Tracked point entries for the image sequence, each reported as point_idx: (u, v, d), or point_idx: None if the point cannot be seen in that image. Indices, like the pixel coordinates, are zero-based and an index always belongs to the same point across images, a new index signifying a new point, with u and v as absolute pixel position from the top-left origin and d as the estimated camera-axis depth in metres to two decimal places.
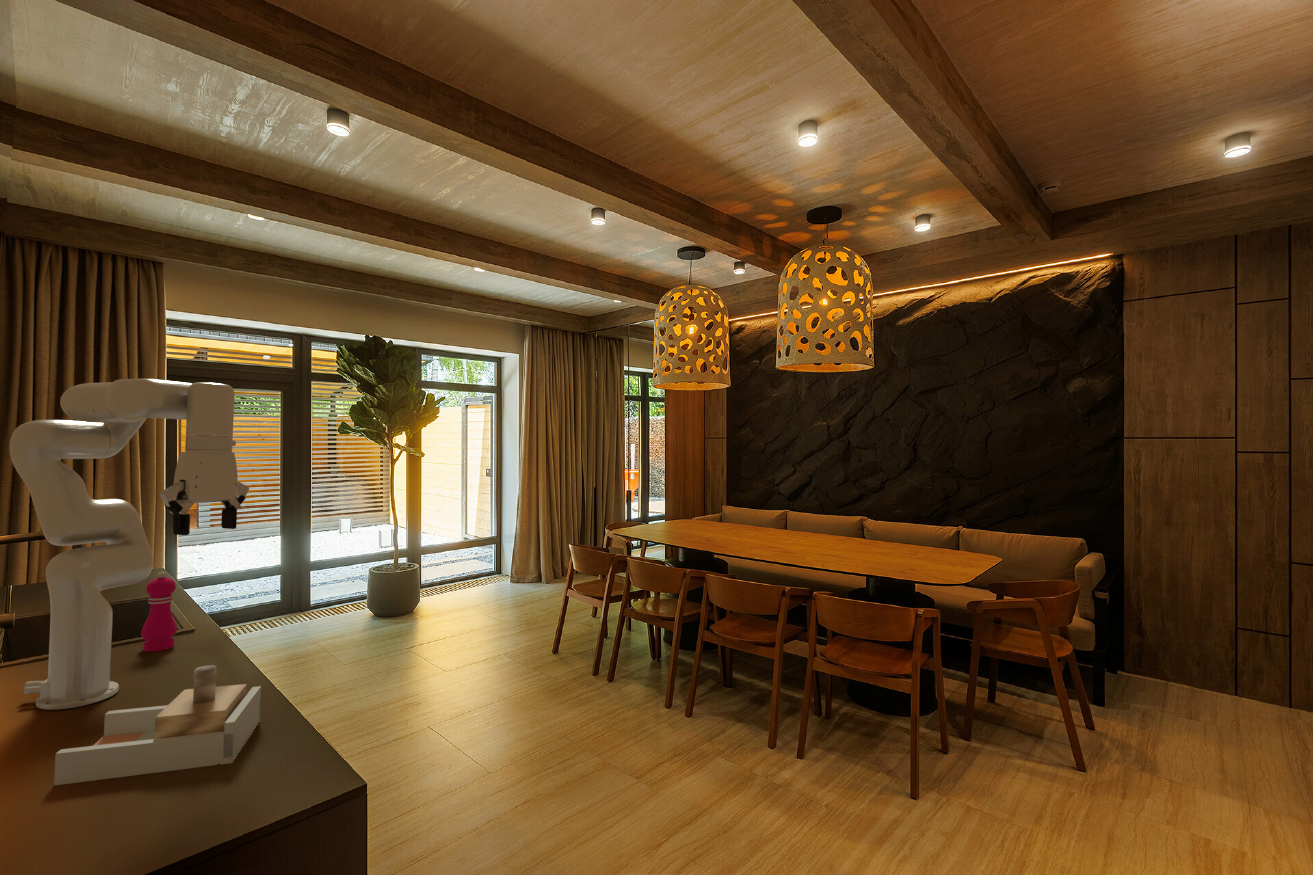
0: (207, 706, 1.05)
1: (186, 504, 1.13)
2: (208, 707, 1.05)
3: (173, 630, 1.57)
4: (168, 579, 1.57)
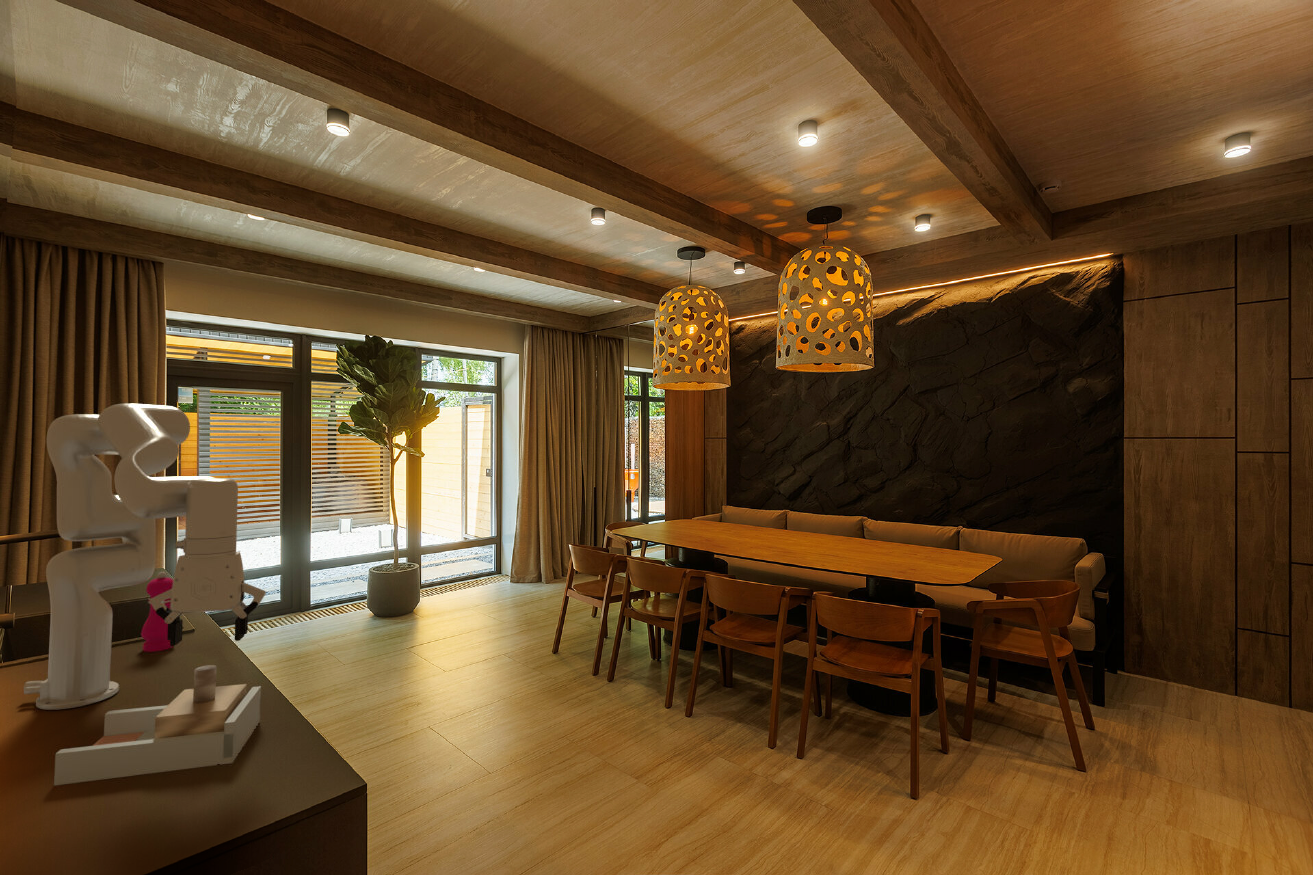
0: (207, 706, 1.05)
1: None
2: (208, 707, 1.05)
3: None
4: (168, 579, 1.57)
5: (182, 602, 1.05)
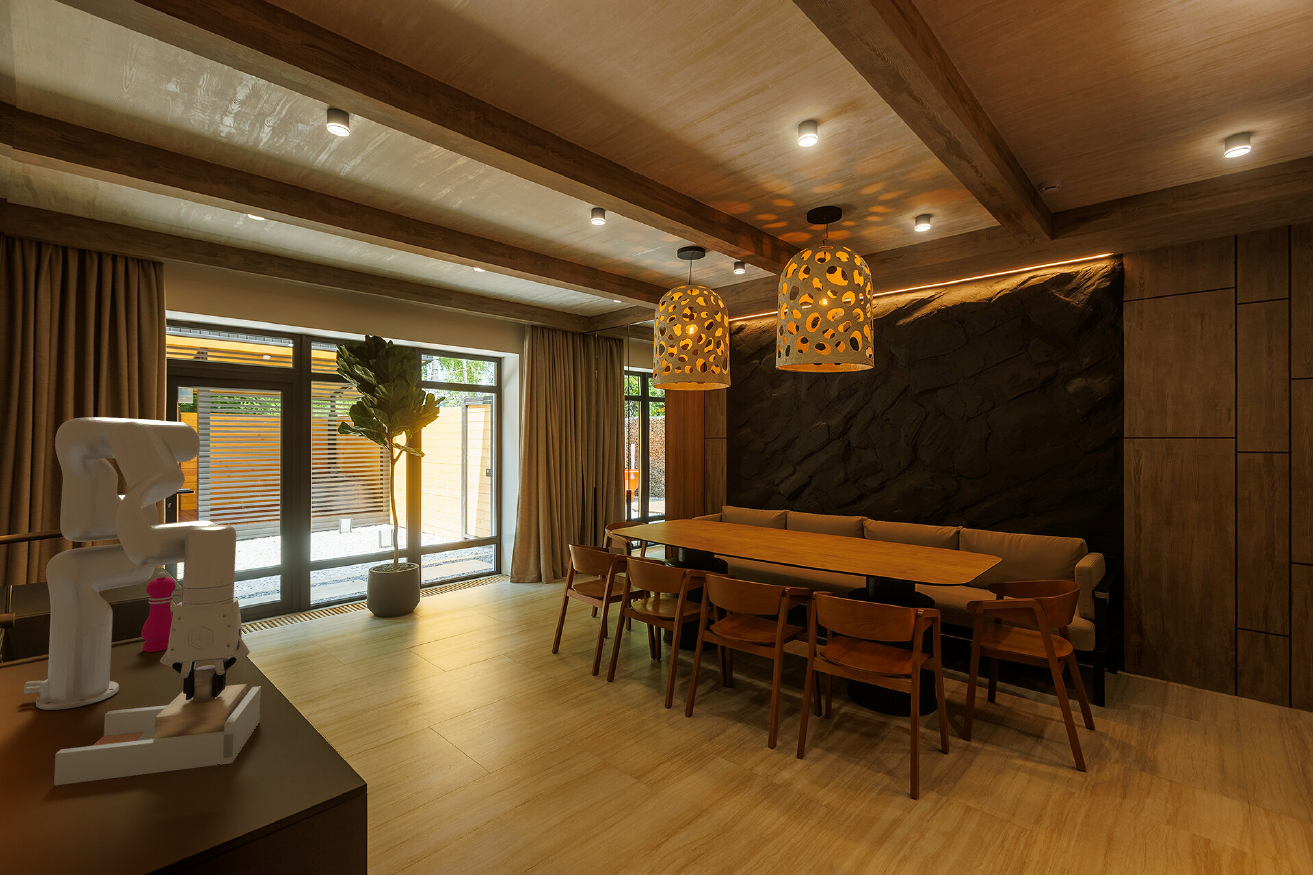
0: (207, 706, 1.05)
1: None
2: (208, 707, 1.05)
3: None
4: (168, 579, 1.57)
5: (179, 651, 1.05)
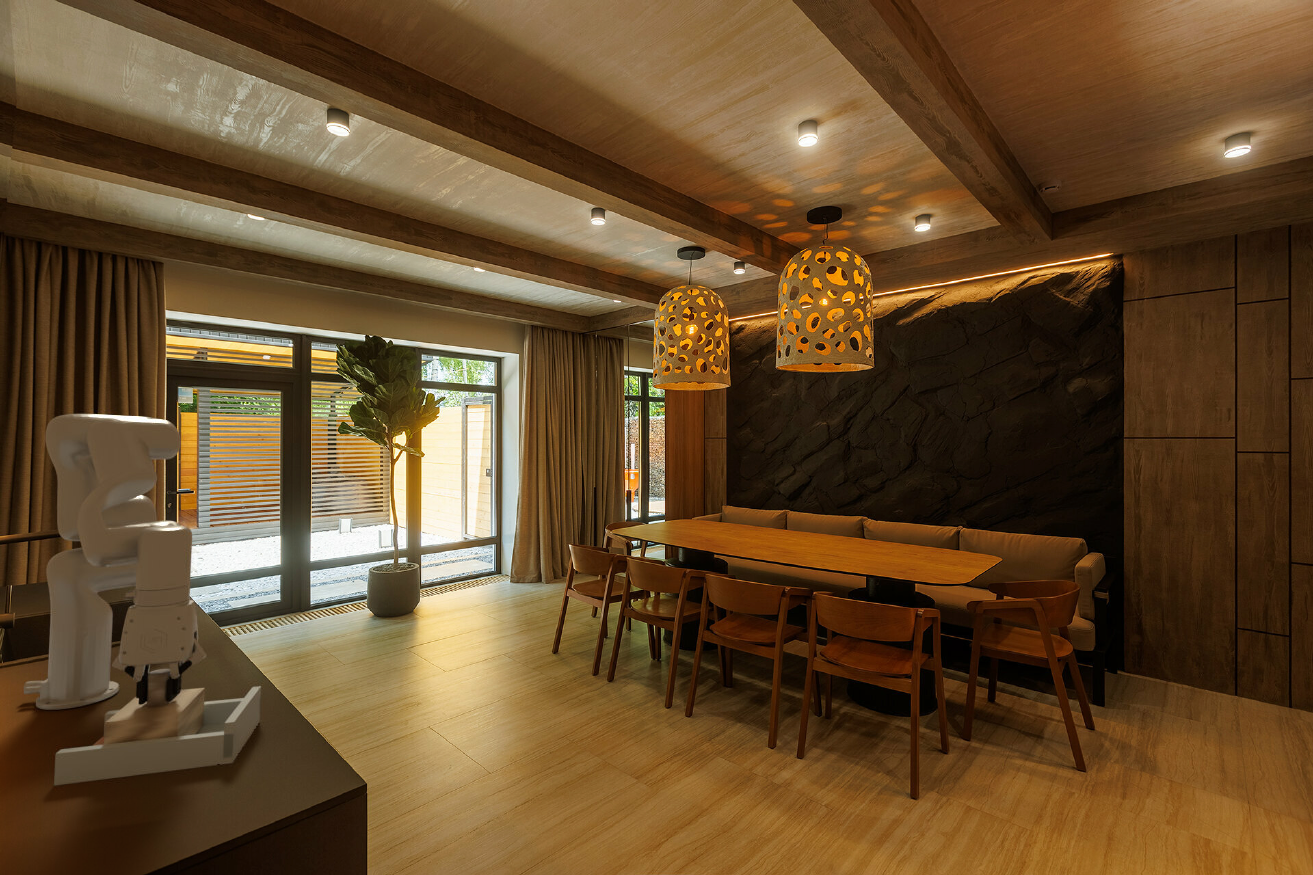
0: (160, 710, 1.03)
1: None
2: (161, 711, 1.03)
3: None
4: None
5: (131, 655, 1.02)
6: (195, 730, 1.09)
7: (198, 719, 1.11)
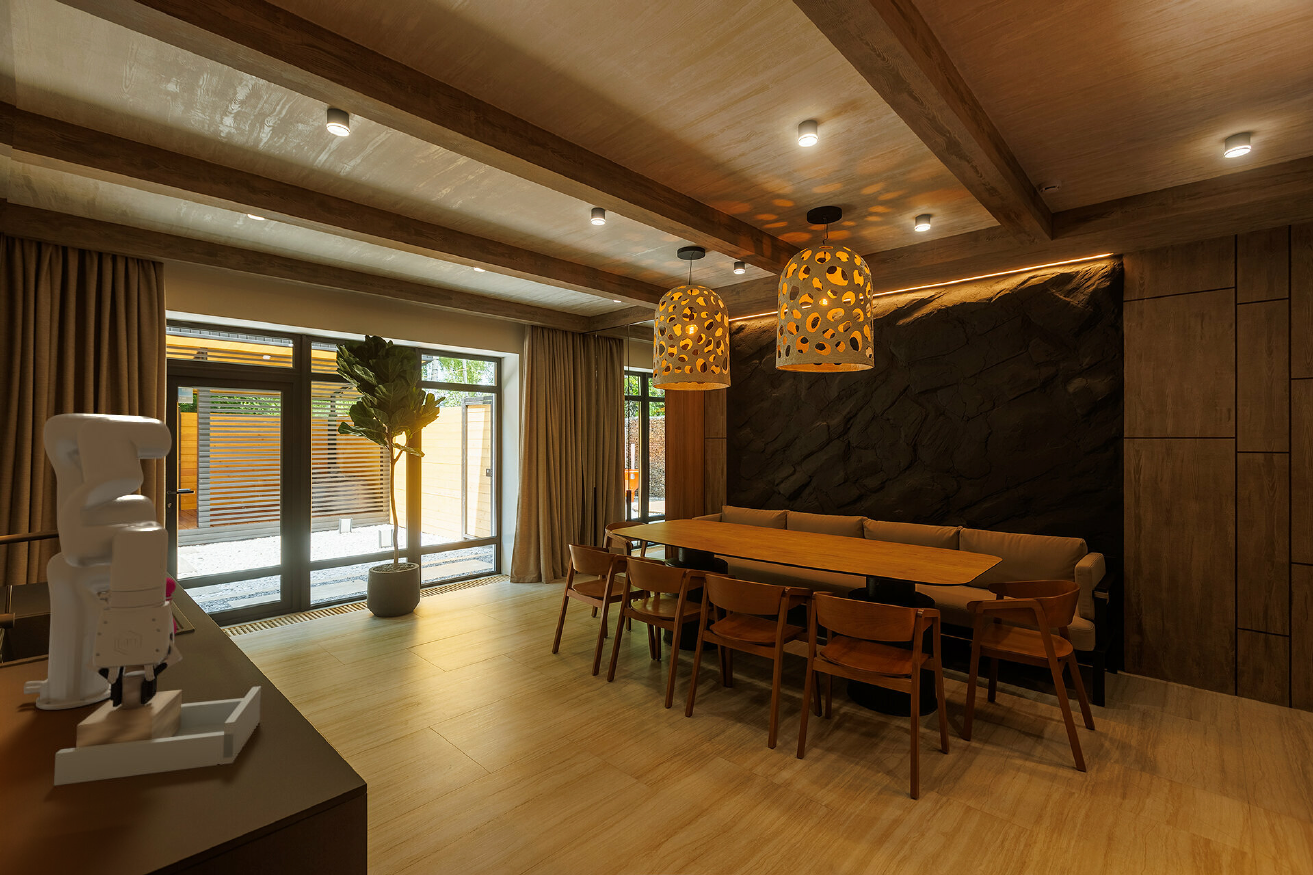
0: (134, 713, 1.02)
1: None
2: (136, 714, 1.02)
3: None
4: (168, 579, 1.57)
5: (105, 657, 1.01)
6: (171, 732, 1.08)
7: (174, 721, 1.09)
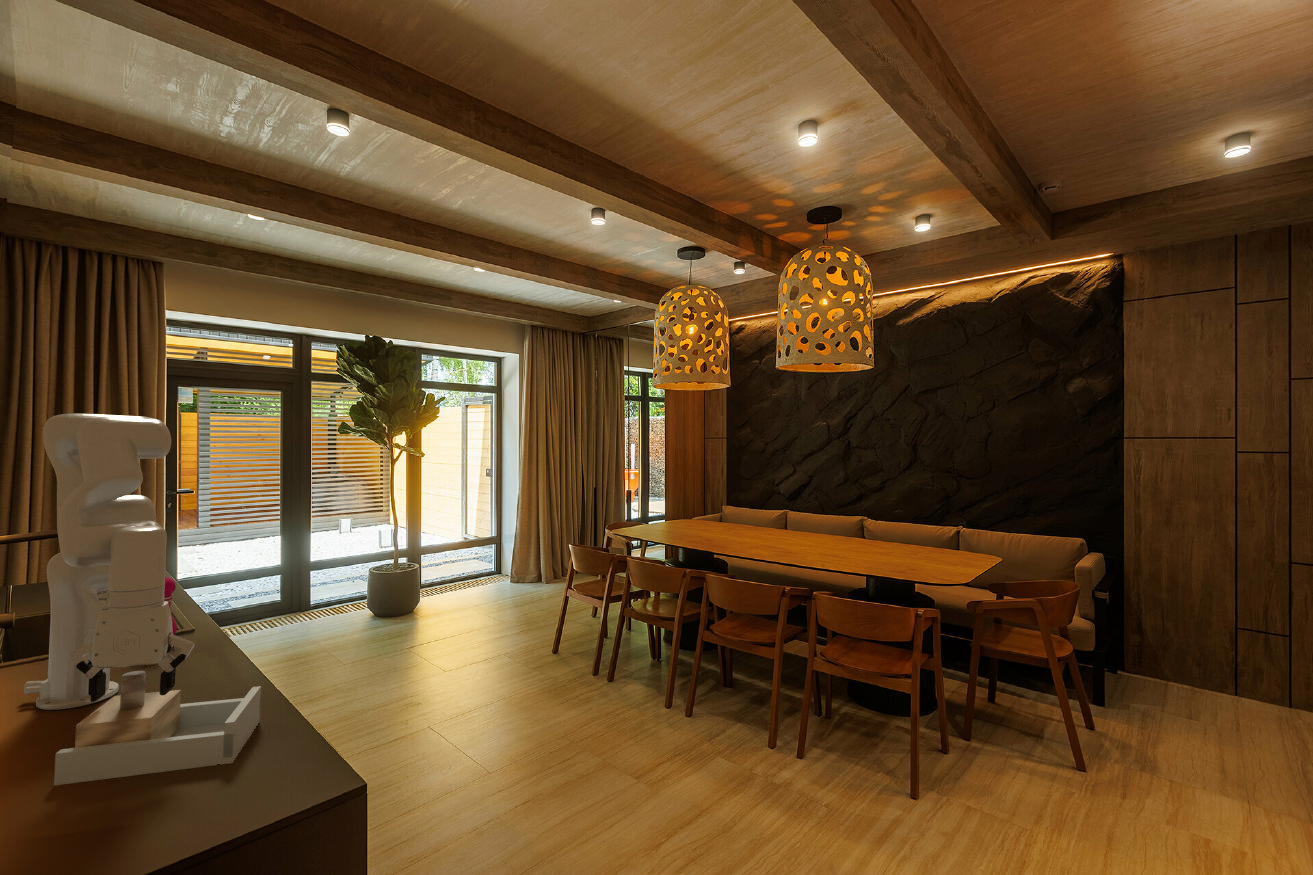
0: (133, 713, 1.02)
1: None
2: (134, 714, 1.01)
3: (173, 630, 1.57)
4: (168, 579, 1.57)
5: (103, 657, 1.01)
6: (170, 733, 1.08)
7: (173, 722, 1.09)
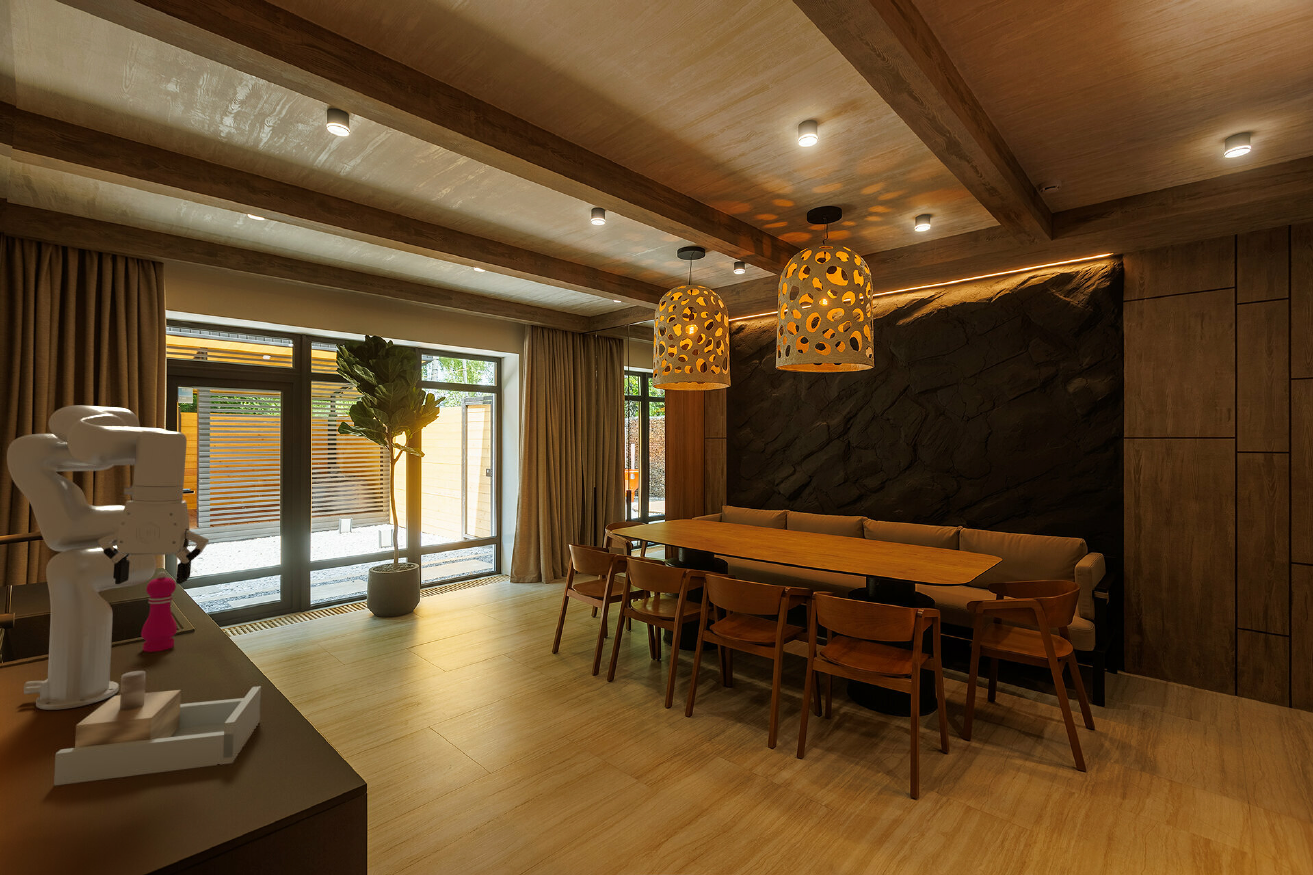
0: (133, 713, 1.02)
1: None
2: (134, 714, 1.01)
3: (173, 630, 1.57)
4: (168, 579, 1.57)
5: (127, 544, 1.12)
6: (170, 733, 1.08)
7: (173, 722, 1.09)
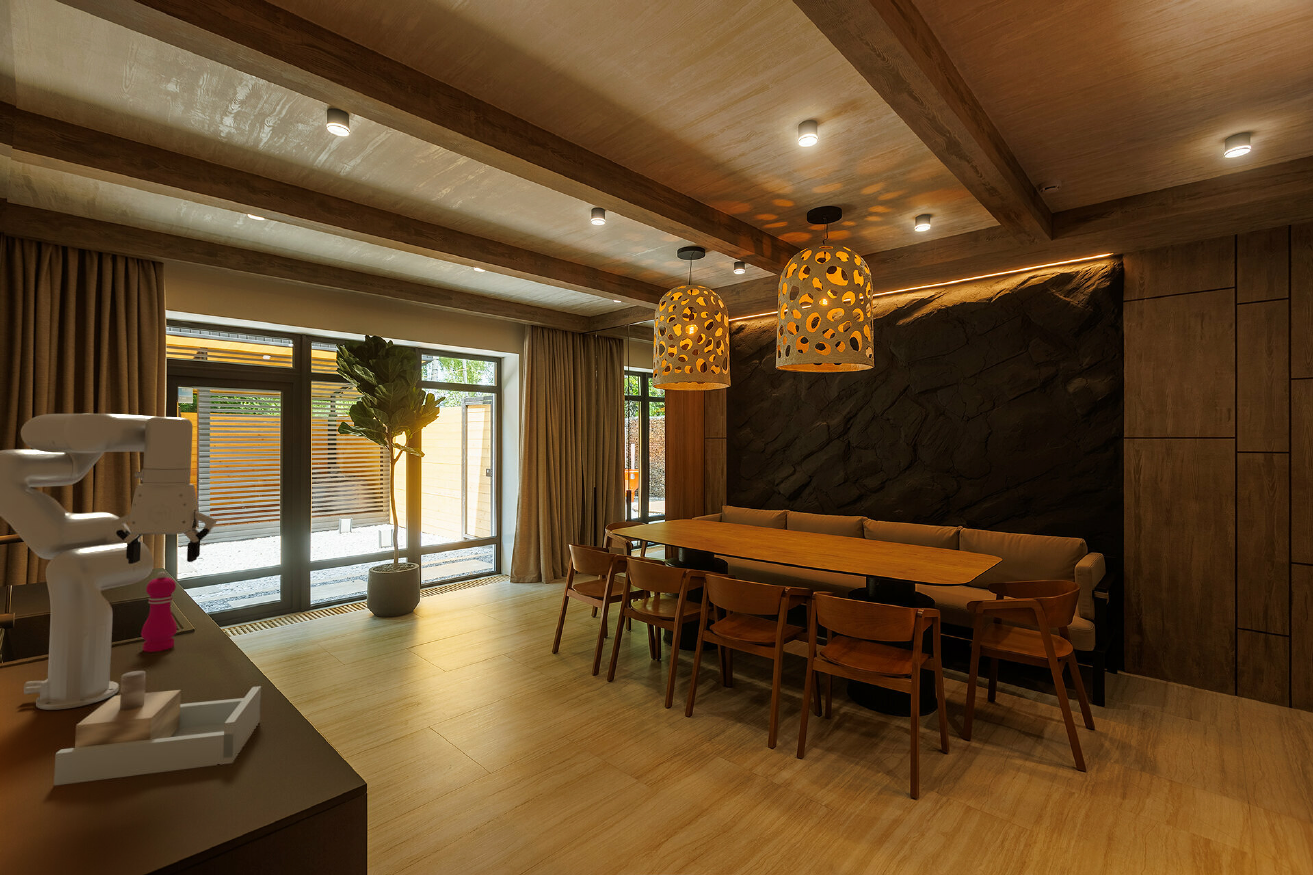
0: (133, 713, 1.02)
1: None
2: (134, 714, 1.01)
3: (173, 630, 1.57)
4: (168, 579, 1.57)
5: (139, 525, 1.18)
6: (170, 733, 1.08)
7: (173, 722, 1.09)
